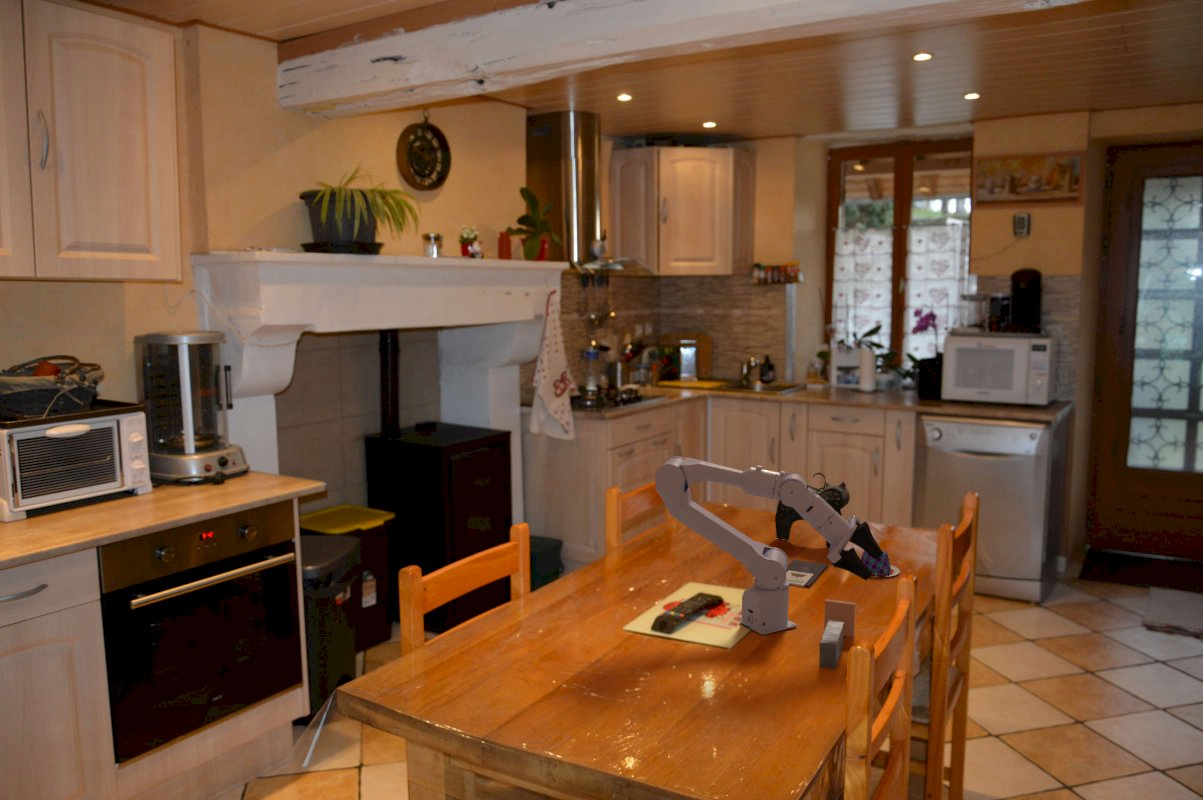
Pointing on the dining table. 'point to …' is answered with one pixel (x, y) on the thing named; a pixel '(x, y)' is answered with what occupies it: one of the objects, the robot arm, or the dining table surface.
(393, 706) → the dining table surface
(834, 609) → the tile
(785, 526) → the ceramic cat
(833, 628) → the tall grey plank
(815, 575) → the chocolate bar
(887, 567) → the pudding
